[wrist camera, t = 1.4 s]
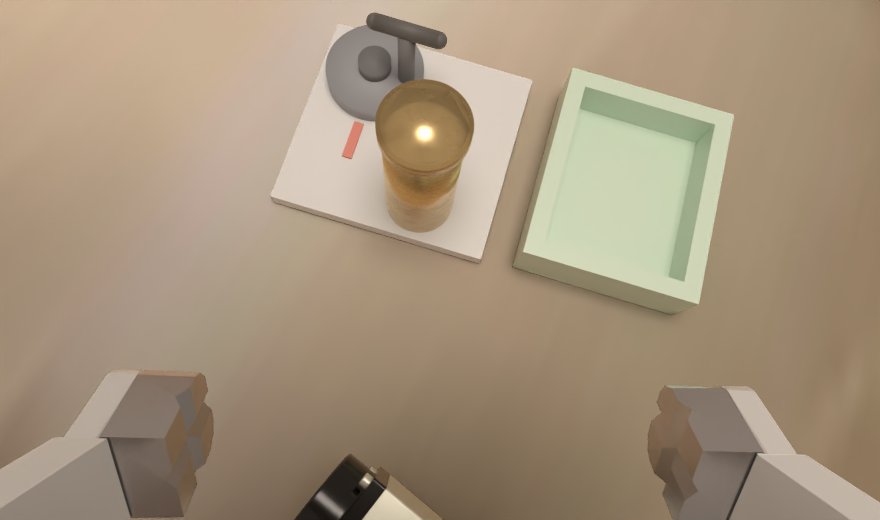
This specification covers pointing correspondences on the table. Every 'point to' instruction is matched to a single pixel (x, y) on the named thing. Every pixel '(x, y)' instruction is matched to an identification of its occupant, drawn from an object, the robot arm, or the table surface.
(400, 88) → the amber drinking glass
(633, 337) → the table surface
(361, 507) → the pneumatic valve
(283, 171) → the crank jig
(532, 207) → the tray
